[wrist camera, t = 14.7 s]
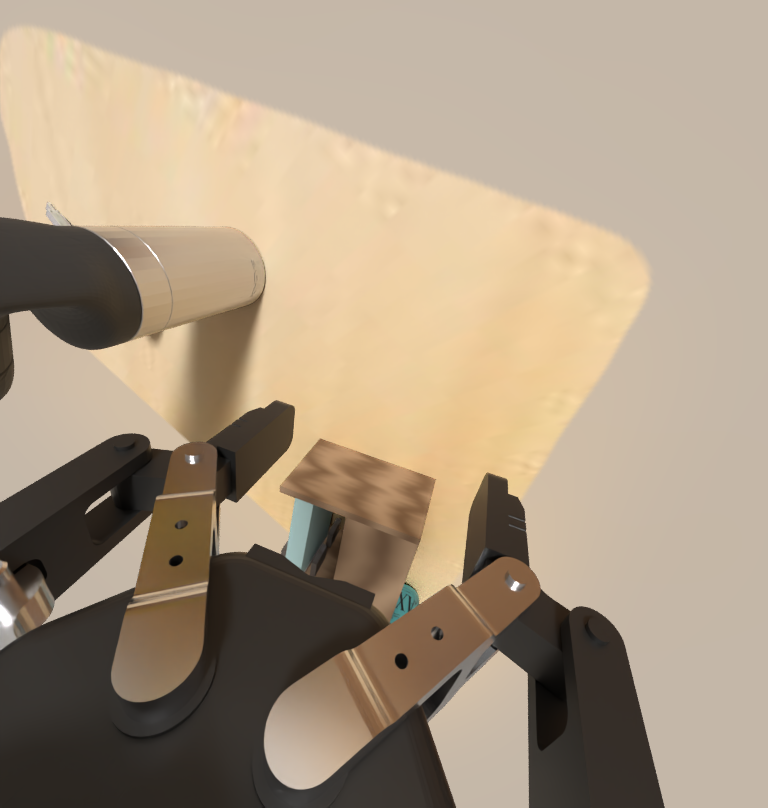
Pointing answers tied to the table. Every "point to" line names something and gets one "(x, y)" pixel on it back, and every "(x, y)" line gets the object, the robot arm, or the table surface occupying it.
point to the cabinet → (363, 518)
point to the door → (307, 532)
